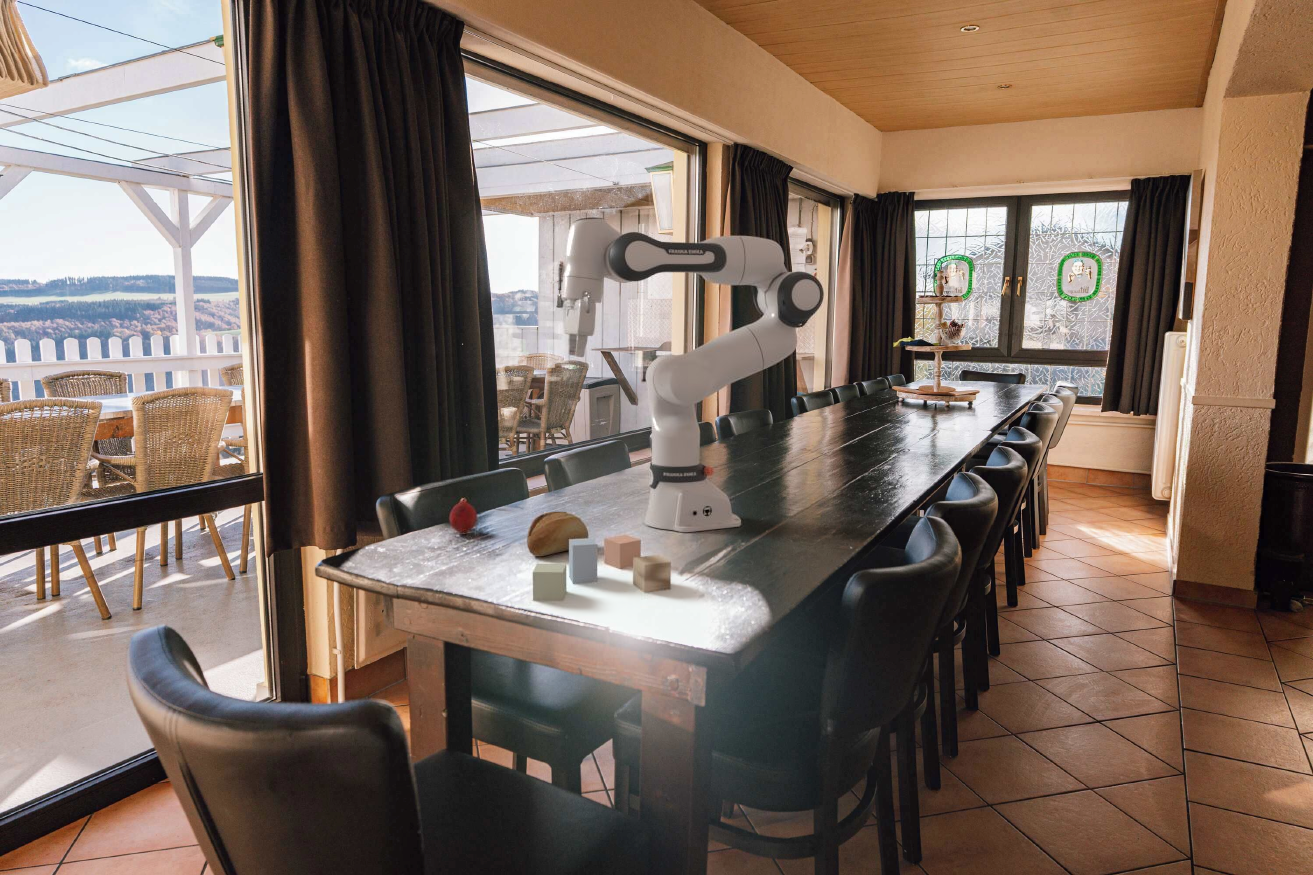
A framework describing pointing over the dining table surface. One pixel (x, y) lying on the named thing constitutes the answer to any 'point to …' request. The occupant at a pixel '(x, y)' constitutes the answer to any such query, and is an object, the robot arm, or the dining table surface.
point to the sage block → (549, 582)
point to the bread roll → (554, 533)
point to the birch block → (651, 573)
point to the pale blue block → (583, 560)
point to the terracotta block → (621, 551)
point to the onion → (463, 517)
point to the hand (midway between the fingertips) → (575, 356)
